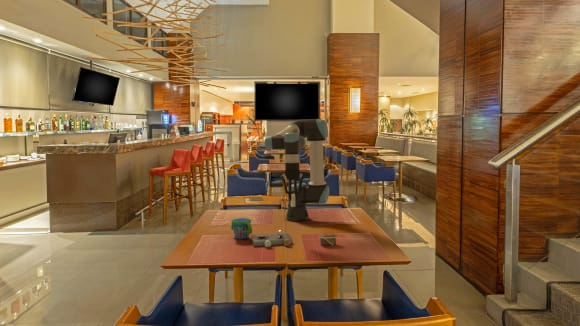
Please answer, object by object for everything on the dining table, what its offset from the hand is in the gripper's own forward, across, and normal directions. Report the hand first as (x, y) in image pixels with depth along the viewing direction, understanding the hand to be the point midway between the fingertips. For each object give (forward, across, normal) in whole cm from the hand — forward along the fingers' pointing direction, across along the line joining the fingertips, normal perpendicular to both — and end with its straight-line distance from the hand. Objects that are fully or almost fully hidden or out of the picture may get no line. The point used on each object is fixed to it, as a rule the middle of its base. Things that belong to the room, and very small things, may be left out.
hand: (293, 206), depth 229 cm
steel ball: (+14, -7, 0) cm, 16 cm away
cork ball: (+17, -5, -10) cm, 20 cm away
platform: (+19, +16, -13) cm, 28 cm away
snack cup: (+19, -27, +12) cm, 35 cm away
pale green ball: (+17, -15, -10) cm, 24 cm away
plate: (+18, -12, 0) cm, 22 cm away
